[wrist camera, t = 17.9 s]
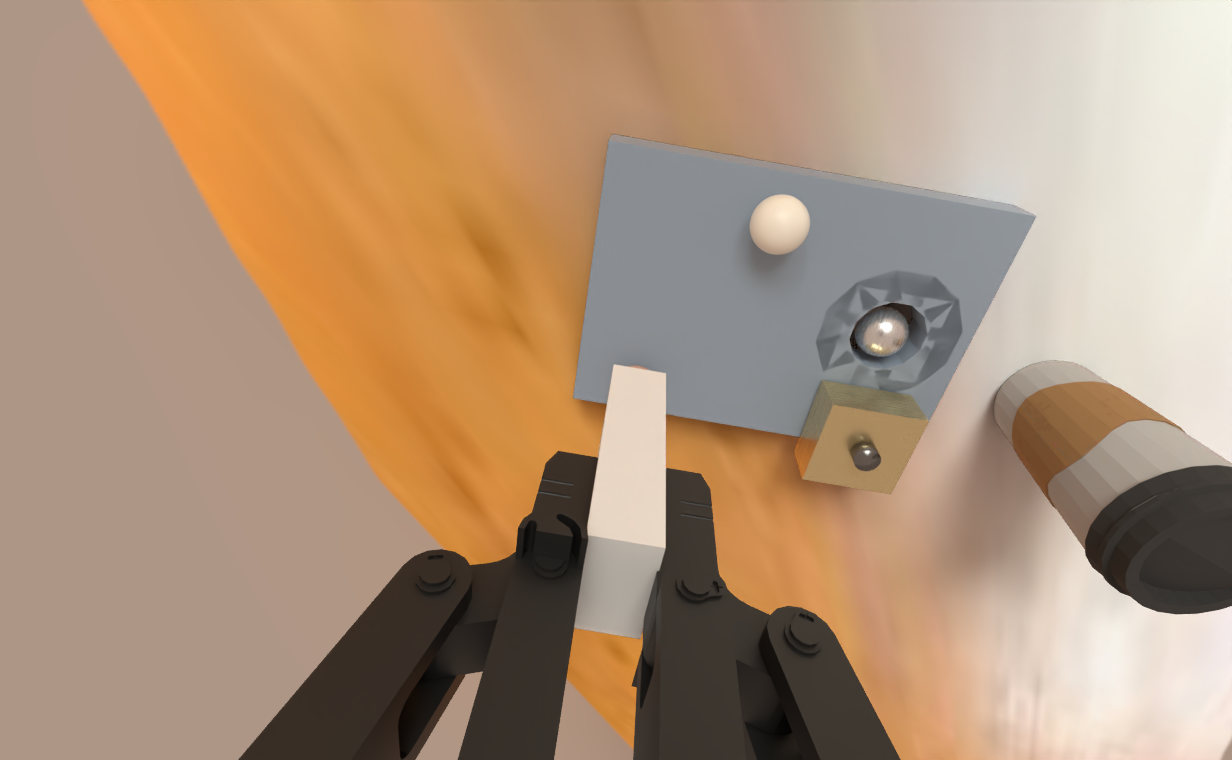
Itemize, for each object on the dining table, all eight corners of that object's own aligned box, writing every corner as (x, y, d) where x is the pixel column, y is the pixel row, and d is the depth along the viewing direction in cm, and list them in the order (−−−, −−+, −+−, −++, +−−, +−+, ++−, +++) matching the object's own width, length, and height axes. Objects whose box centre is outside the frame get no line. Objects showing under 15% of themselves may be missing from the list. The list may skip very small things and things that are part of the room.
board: (612, 133, 34) (608, 140, 32) (1013, 205, 35) (1036, 216, 32) (577, 380, 43) (573, 398, 41) (898, 435, 43) (910, 455, 41)
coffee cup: (1033, 462, 44) (1188, 641, 31) (948, 412, 42) (1073, 580, 29) (1135, 380, 40) (1362, 546, 27) (1045, 321, 38) (1240, 468, 25)
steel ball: (859, 310, 36) (913, 328, 35) (870, 292, 38) (921, 309, 37) (842, 354, 38) (892, 372, 37) (853, 334, 40) (901, 351, 39)
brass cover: (821, 380, 38) (837, 413, 35) (911, 395, 38) (935, 430, 35) (793, 451, 41) (805, 489, 38) (876, 465, 42) (895, 504, 38)
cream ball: (754, 183, 33) (763, 197, 30) (811, 193, 33) (824, 208, 30) (740, 239, 34) (746, 257, 32) (793, 248, 34) (804, 267, 32)
